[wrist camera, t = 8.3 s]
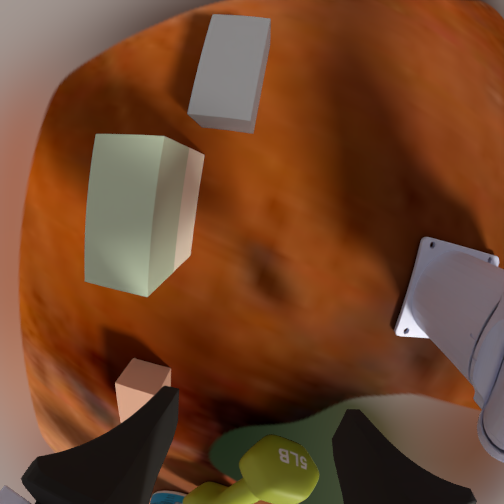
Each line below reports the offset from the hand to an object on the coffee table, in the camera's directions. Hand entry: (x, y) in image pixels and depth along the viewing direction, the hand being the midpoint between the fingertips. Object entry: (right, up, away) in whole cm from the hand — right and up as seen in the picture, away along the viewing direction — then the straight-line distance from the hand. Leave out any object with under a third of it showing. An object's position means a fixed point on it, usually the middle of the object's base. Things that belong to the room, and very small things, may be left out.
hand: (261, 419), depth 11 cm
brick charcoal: (-1, +18, +7) cm, 20 cm away
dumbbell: (-1, -17, +15) cm, 23 cm away
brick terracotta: (-9, -6, +13) cm, 17 cm away
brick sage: (-6, +10, +5) cm, 12 cm away
